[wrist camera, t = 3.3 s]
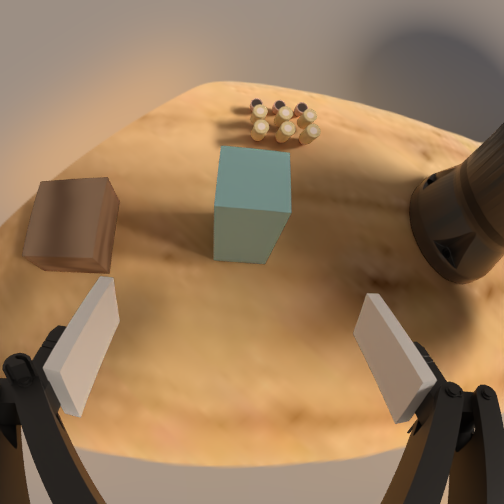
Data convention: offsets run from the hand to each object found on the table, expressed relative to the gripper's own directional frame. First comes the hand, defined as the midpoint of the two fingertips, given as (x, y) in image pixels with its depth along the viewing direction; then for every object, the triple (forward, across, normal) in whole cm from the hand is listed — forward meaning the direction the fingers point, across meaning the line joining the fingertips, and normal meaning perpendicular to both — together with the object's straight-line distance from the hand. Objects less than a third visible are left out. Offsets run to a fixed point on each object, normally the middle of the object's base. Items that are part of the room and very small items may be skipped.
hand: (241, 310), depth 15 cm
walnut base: (+16, -16, -3) cm, 23 cm away
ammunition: (+27, +5, +8) cm, 28 cm away
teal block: (+16, +1, -3) cm, 16 cm away
